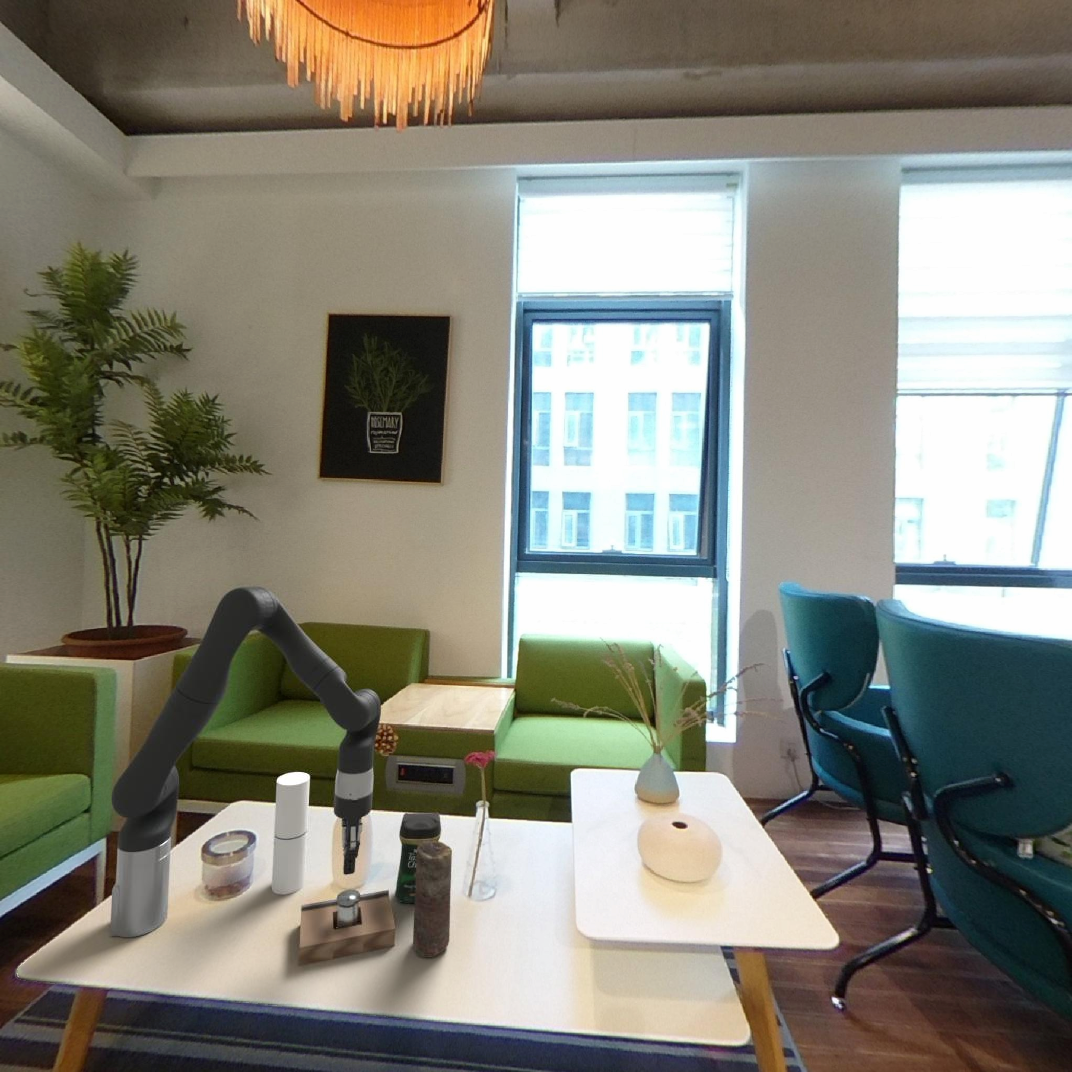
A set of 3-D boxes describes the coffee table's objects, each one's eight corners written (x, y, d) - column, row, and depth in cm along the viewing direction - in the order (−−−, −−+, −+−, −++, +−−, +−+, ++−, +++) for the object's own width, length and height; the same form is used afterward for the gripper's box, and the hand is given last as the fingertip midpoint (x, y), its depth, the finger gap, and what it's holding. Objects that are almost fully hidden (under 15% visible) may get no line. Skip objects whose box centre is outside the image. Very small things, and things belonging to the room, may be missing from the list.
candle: (409, 936, 119) (414, 840, 119) (444, 929, 121) (449, 835, 121) (415, 962, 112) (420, 860, 111) (452, 954, 114) (457, 855, 114)
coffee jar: (394, 906, 128) (398, 824, 127) (397, 884, 135) (401, 807, 135) (438, 904, 129) (442, 822, 129) (438, 883, 137) (442, 806, 137)
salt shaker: (334, 944, 115) (337, 905, 115) (334, 929, 119) (336, 891, 119) (358, 940, 117) (360, 901, 117) (357, 925, 121) (359, 888, 121)
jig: (298, 965, 109) (299, 944, 109) (300, 924, 120) (301, 905, 120) (394, 945, 116) (395, 925, 116) (387, 908, 127) (388, 889, 127)
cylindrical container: (281, 898, 128) (287, 788, 128) (265, 885, 133) (270, 778, 133) (310, 884, 134) (315, 778, 134) (294, 872, 138) (299, 769, 138)
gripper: (334, 777, 123) (329, 857, 123) (335, 805, 110) (330, 895, 110) (370, 773, 125) (365, 852, 125) (375, 801, 113) (370, 888, 113)
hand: (348, 872), depth 118 cm, fingers closed
